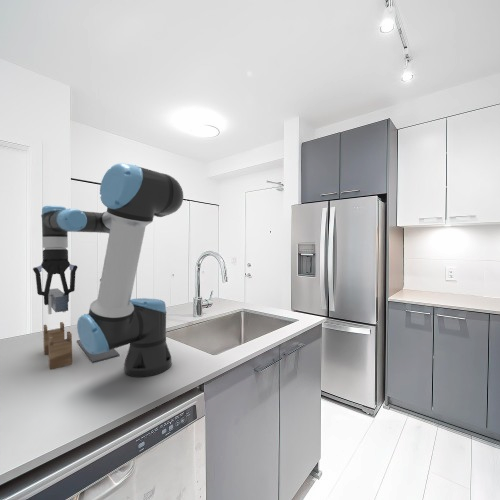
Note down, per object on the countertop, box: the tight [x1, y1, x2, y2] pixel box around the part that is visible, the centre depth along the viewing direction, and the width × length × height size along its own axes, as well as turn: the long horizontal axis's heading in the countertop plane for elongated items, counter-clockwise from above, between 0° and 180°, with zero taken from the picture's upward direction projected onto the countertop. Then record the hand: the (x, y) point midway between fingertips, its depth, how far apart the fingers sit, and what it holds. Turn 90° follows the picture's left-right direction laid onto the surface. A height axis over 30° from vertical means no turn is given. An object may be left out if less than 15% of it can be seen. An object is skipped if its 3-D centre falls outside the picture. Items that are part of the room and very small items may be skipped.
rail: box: [49, 288, 69, 313], centre depth 99 cm, size 24×4×5 cm, turn 42°
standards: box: [43, 321, 73, 370], centre depth 99 cm, size 20×6×10 cm, turn 42°
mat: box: [76, 339, 120, 364], centre depth 108 cm, size 28×9×1 cm, turn 42°
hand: (56, 312), depth 99 cm, fingers closed on rail, 3 cm apart
